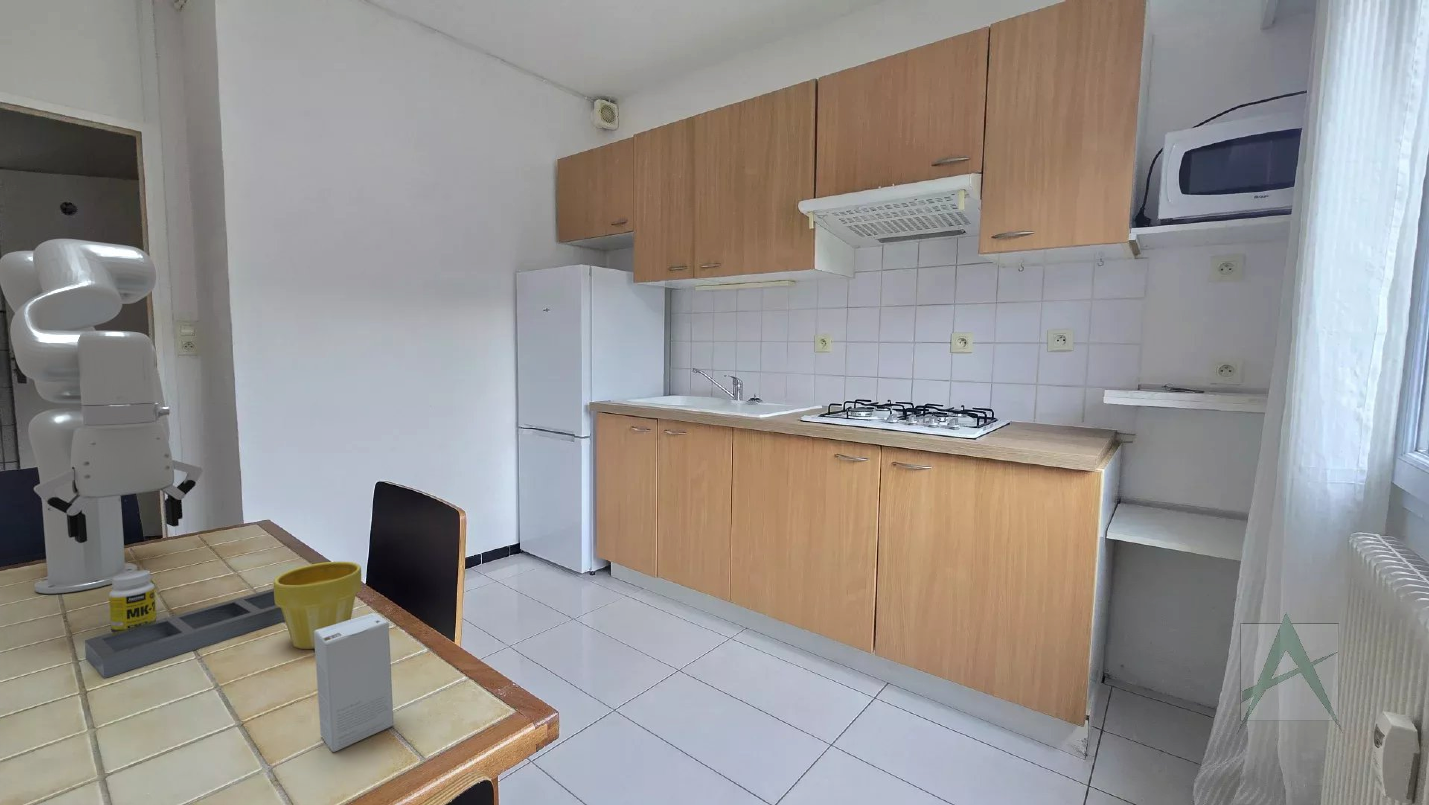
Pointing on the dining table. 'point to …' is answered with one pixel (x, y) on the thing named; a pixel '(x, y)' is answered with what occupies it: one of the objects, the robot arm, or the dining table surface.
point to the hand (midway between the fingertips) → (128, 532)
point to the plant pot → (316, 598)
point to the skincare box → (353, 680)
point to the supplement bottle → (132, 600)
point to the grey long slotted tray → (181, 633)
